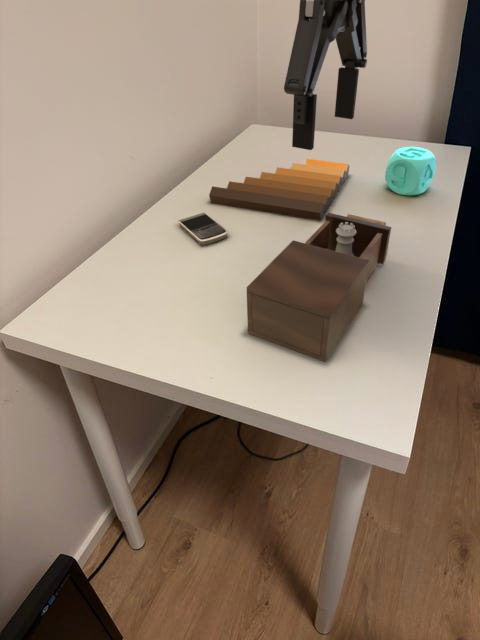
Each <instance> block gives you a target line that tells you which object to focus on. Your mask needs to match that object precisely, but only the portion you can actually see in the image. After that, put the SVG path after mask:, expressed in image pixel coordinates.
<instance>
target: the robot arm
mask: <svg viewBox="0 0 480 640" xmlns="http://www.w3.org/2000/svg"><path fill="white" fill-rule="evenodd" d="M298 8H299V9H298V19H297V24H296V30H295V33H294V38H293V44H292V48H291V53H290V57H289V62H288V67H287V70H286V76H285V81H284V85H283V90H284V93H285V94H286V95H293V110H292V111H293V112H292V138H291V139H292V140H291V142H292V143H291V147H292V148H296V149H302V150H306V151H307V150H308V151H312V150H314V149H315V132H316V131H315V130H316V119H317V117H316V116H317V100H318V94H315V93H314V92H315V89H316V86H317V82H318V81H319V80H318V79H319V77H320V74H321V71H322V68H323V64H324V62H325V60H326V59H325V58H326V55H327V53H328V50H329V48H330V45H331V43H332V42H334V41H335V42H336V46H337V50H338V54H339V59H340V61H341V67H339V68H338V70H337V71H338V72H337V82H336V83H337V84H336V94H335V95H336V96H335V106H334V107H335V108H334V117H335V118H341V119H347V120H353V119H354V118H355V110H356V100H357V94H358V93H357V92H358V84H359V75H360V69H365V68H366V67H367V63H368V59H367V56H368V44H367V42H368V41H367V27H366V26H367V25H366V24H367V23H366V22H367V21H366V0H299V7H298ZM359 68H360V69H359Z"/></svg>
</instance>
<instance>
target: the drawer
mask: <svg viewBox="0 0 480 640" xmlns="http://www.w3.org/2000/svg"><path fill="white" fill-rule="evenodd" d="M345 222H348V225H350V223H352V224H353V226H354V225H355V230H356V234H355V235H354V236H353V239H354V241H353V242H352V254H353V255H354V257H358V258H362V259H366V260H369V264H368V271H367V277H366V282H367V281H368V279H369V278H370V277H371V275H372V274H373V272H374V270H375V269H376V268H377V266H378V264H380V265H384V264H385V262H386V260H387V254H388V248H389V244H390V237H391V232H392V226H388V225H387V222H386V221H383V220H378V219H374V218H369V217H366V216H361V215H356V214H351V213H347V215H346V216H344V215H341V214H336V213H333V212H326V213H325V218H324V222H323V223H322V224H321V225H320V226H319V227H318V228H317V230H316V231H314V233H313V234H312V235H311V236H310V237H309V238H307V240H306V241H305V242H304V243H305V244H309V245H313V246H317V247H320V248H324V249H328V250H332V251H335V250H336V246H337V237H338V234H337V233H336V229H337V228H338V227H339V225H340V223H343V225H345Z"/></svg>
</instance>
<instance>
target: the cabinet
mask: <svg viewBox="0 0 480 640" xmlns="http://www.w3.org/2000/svg"><path fill="white" fill-rule="evenodd" d="M368 264H369V260H366V259H362V258H358V257H354V256H351V255H347V254H343V253H339V252H336V251H332V250H328V249H324V248H320V247H317V246H313V245H309V244H305V242H301V241H298V240H293V239H292V241H291V242H290V243H289V244H288V245H286V246H285V248H284V249H283V250H282V251H281V252H280V253H279V254H278V255H277V256H276V257H275V258H273V260H272V261H271V262H270V263H269V264H267V266H266V267H265V268H263V270H262V271H261V272H260V273H258V275H257V276H256V277H255V278H254V279H253V280H252V281H251V282H250V283H249V284H248V286H246V312H247V313H246V314H247V315H246V316H247V317H246V318H247V334H249V335H251V336H254V337H257V338H260V339H262V340H265V341H268V342H270V343H273V344H276V345H278V346H280V347H284V348H287V349H289V350H292V351H295V352H297V353H300V354H303V355H305V356H307V357H311V358H314V359H316V360H319V361H321V362H324V363H326V362H327V360H328V358H329V357H330V355H331V354H332V353H333V351H334V349H335V348H336V346H337V345H338V343H339V342H340V340H341V338H342V337H343V335H344V334H345V333H346V331H347V329H348V328H349V326H350V325H351V323H352V321H353V320H354V319H355V317H356V316H357V314H358V313H359V311H360V309H361V308H362V307H363V302H364V296H365V289H366V283H367V281H366V277H367V271H368Z"/></svg>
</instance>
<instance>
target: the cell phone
mask: <svg viewBox="0 0 480 640" xmlns="http://www.w3.org/2000/svg"><path fill="white" fill-rule="evenodd" d="M177 222H178V225H179V226H180V227H181V228H182V229H183V230H184V231H186V233H188V235H190V236H191V237H192V238H193V239H194V240H195V241H196V242H198V243H199V244H200V245H201V246H205V245H209V244H212V243H215V242H219V241H221V240H223V239H226V238H227V236H228V233H229V232H228V231H227V230H226V229H225V228H224V227H223V226H222V225H220V224H219V223H218V222H217V221H216V220H214V219H213V218H212V217H210V216H209V215H208V214H206V213H205V212H201V213H198V214H195V215H191V216H187V217H185V218H181V219H178V220H177Z"/></svg>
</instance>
